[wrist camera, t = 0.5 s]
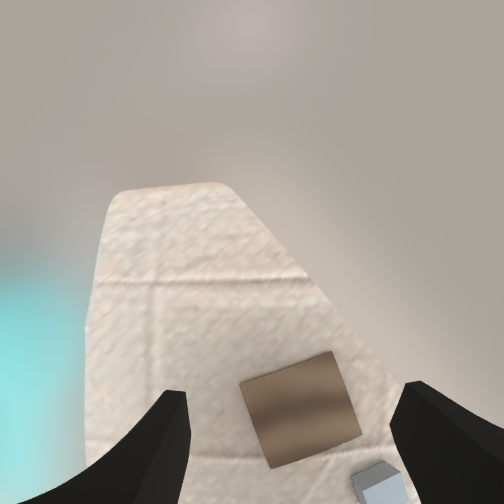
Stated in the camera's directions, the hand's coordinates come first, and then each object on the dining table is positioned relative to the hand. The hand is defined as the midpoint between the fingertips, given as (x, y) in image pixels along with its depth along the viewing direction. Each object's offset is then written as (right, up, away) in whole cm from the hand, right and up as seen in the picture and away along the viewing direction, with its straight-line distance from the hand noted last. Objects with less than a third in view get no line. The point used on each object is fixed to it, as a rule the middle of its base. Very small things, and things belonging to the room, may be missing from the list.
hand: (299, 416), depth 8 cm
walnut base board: (+4, -13, +22) cm, 26 cm away
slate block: (+13, -23, +18) cm, 31 cm away
